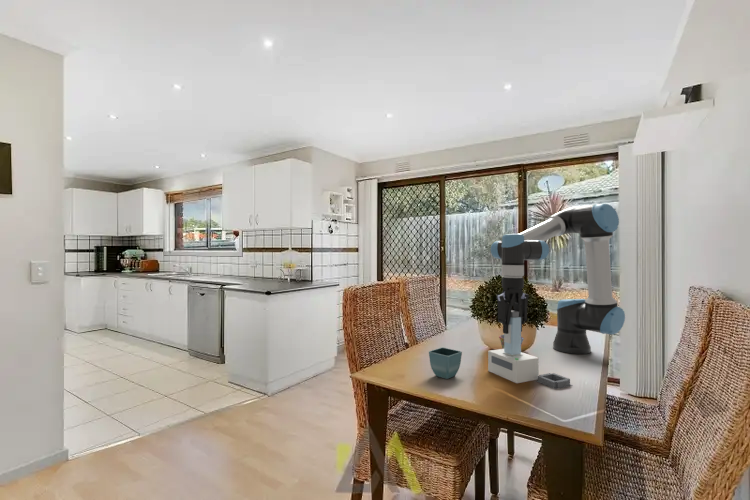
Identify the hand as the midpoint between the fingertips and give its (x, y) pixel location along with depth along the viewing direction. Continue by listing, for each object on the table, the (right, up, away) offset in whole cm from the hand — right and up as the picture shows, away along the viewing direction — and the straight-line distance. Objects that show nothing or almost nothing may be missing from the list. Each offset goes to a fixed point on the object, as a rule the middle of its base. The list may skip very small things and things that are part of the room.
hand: (512, 341), depth 132 cm
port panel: (0, -13, 0) cm, 13 cm away
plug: (0, -4, 0) cm, 4 cm away
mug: (+5, -13, +16) cm, 21 cm away
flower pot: (-24, -13, 0) cm, 27 cm away
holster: (+11, -13, -8) cm, 19 cm away
